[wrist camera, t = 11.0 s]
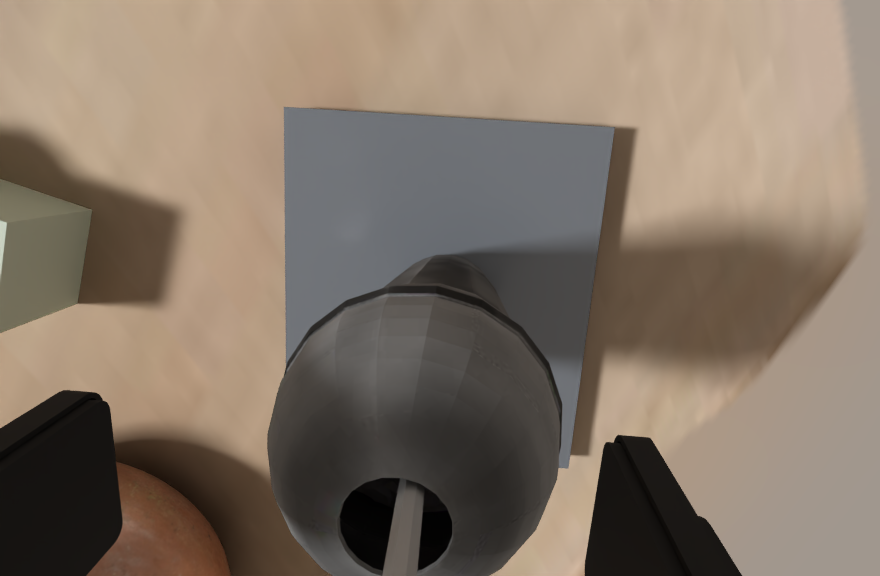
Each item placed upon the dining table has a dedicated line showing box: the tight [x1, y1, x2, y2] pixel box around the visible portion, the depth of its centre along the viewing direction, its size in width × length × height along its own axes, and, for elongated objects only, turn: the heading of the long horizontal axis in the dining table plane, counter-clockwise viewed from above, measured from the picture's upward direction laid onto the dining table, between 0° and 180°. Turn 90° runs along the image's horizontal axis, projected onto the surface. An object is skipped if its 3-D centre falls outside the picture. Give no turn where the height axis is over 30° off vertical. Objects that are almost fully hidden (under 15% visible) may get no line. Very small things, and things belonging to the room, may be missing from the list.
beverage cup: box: [267, 255, 563, 576], centre depth 15 cm, size 7×7×20 cm
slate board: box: [284, 107, 615, 468], centre depth 25 cm, size 16×14×1 cm
